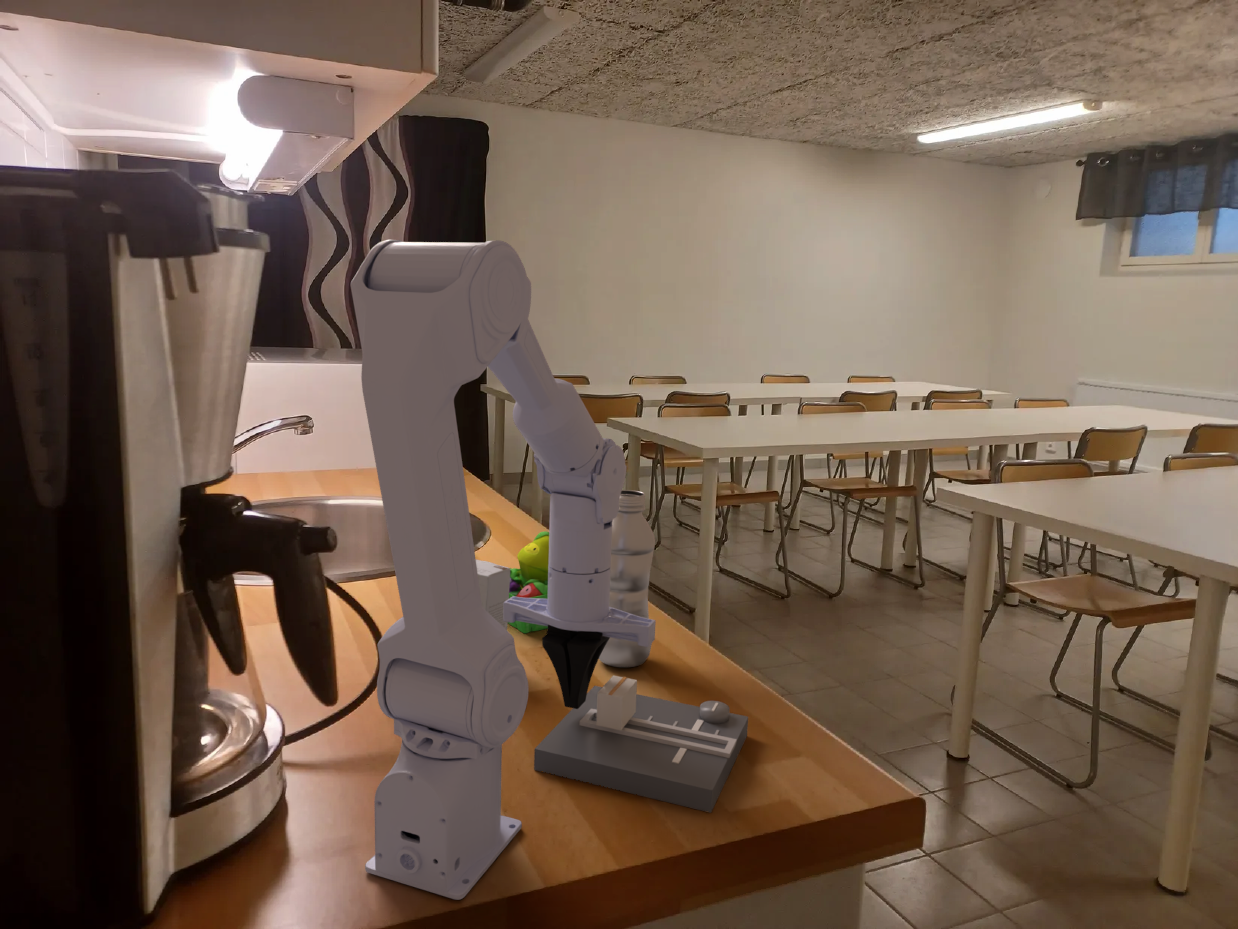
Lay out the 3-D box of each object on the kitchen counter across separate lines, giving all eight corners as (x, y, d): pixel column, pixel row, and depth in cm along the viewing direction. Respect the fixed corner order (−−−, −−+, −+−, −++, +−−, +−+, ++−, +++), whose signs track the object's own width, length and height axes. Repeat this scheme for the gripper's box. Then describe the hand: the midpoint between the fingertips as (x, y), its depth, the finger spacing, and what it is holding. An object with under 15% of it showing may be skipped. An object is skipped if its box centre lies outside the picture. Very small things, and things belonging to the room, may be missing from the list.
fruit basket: (476, 611, 113) (477, 528, 111) (534, 600, 119) (535, 520, 117) (520, 639, 105) (521, 550, 102) (580, 626, 110) (583, 540, 108)
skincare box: (440, 670, 95) (440, 565, 93) (466, 657, 99) (467, 555, 96) (484, 684, 92) (485, 576, 90) (509, 670, 96) (511, 565, 94)
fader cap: (620, 734, 78) (622, 696, 77) (596, 729, 78) (597, 691, 78) (635, 715, 81) (637, 679, 81) (611, 710, 82) (613, 674, 81)
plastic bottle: (645, 677, 95) (654, 502, 92) (586, 670, 96) (592, 496, 93) (654, 655, 101) (663, 490, 98) (599, 648, 103) (605, 485, 99)
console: (712, 813, 70) (714, 778, 69) (534, 769, 75) (534, 737, 75) (747, 736, 83) (750, 706, 82) (593, 703, 88) (594, 675, 88)
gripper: (668, 564, 80) (661, 700, 82) (527, 544, 85) (524, 673, 87) (644, 586, 73) (637, 733, 76) (493, 563, 78) (491, 702, 81)
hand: (575, 703), depth 81 cm, fingers closed
